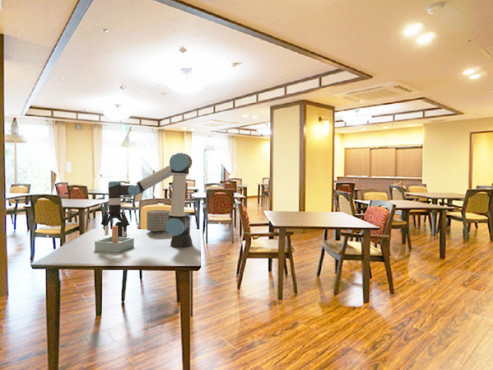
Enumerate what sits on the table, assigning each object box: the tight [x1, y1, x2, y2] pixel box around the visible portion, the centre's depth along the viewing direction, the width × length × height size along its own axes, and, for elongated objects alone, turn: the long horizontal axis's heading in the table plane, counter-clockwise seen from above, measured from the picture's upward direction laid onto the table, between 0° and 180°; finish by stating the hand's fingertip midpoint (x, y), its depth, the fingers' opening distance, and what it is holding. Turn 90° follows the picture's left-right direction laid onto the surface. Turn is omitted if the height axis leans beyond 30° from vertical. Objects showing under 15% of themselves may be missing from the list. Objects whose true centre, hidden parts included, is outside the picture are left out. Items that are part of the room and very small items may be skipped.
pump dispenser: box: [114, 220, 128, 238], centre depth 223 cm, size 10×10×15 cm
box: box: [94, 235, 135, 254], centre depth 204 cm, size 18×16×6 cm
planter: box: [146, 209, 171, 234], centre depth 258 cm, size 19×19×18 cm
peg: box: [111, 225, 118, 243], centre depth 204 cm, size 4×4×14 cm
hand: (115, 235), depth 204 cm, fingers open, 13 cm apart
